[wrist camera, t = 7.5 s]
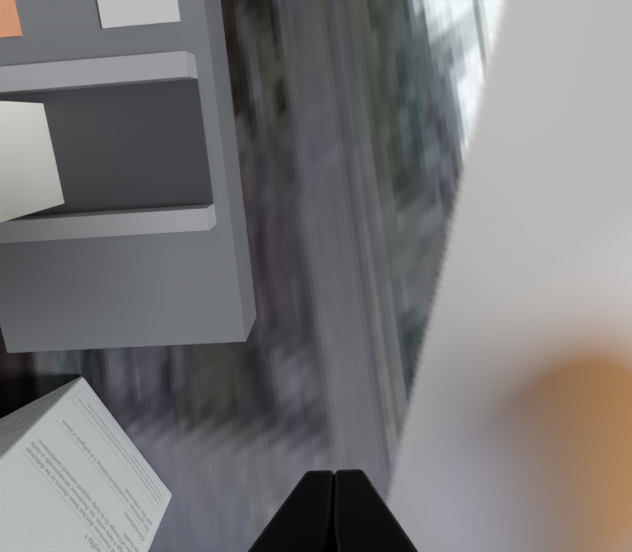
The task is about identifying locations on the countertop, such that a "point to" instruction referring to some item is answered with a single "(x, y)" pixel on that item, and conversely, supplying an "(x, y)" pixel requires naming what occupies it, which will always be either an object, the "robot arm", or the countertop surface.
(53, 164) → the switch tab
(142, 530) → the supplement box
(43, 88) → the switch board
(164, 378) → the countertop surface
